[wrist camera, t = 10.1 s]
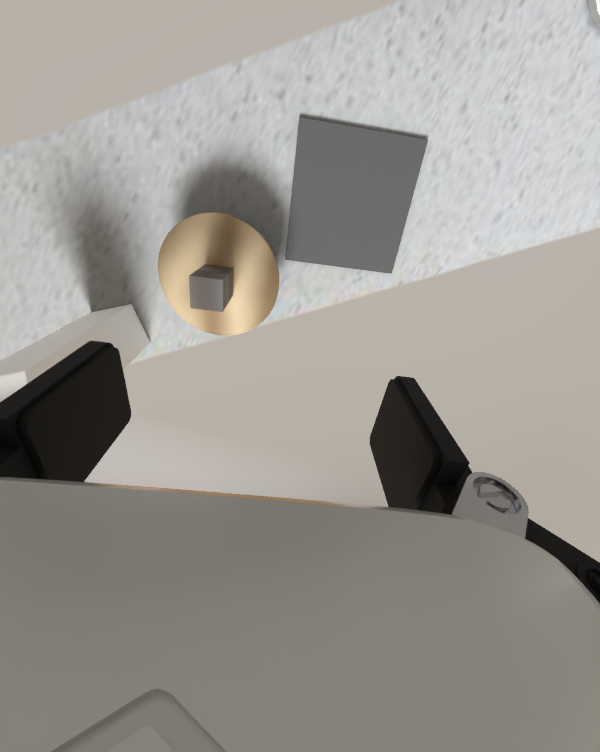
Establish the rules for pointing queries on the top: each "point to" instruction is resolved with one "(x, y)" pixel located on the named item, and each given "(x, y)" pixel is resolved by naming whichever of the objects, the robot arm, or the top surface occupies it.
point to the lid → (218, 273)
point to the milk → (75, 345)
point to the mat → (351, 195)
